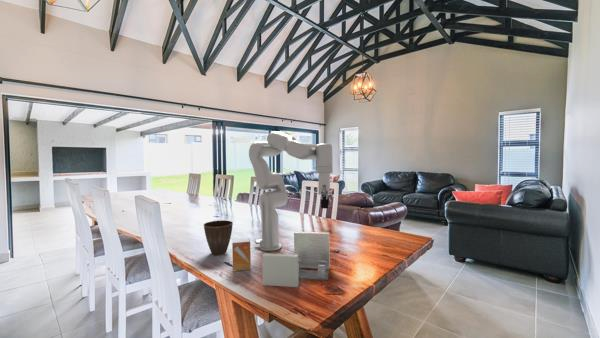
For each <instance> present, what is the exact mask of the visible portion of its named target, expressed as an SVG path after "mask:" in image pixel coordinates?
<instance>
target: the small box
mask: <svg viewBox="0 0 600 338" xmlns="http://www.w3.org/2000/svg"><path fill="white" fill-rule="evenodd" d="M231 246H232V253H231V254H232V272H236V271H237V272H238V271H239V272H240V271H247V270H248V271H249V270H250V269H252V265H251V264H252V263H251V261H252V260H251V258H252V255H251V238H250V237H244V238H243V237H242V238H234V239H232V245H231Z"/></svg>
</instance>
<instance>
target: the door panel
mask: <svg viewBox="0 0 600 338" xmlns="http://www.w3.org/2000/svg"><path fill="white" fill-rule="evenodd" d="M261 258H262V260H261V261H262V284H263V286H275V287H288V288H299V285H300V283H299V282H300V279H299V271H298V255H294V253H293V254H290V253H288V254H287V253H268V252H263V254H262V257H261Z"/></svg>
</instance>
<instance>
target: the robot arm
mask: <svg viewBox="0 0 600 338" xmlns="http://www.w3.org/2000/svg"><path fill="white" fill-rule="evenodd" d="M282 152H286V153H287V154H288V155H289V156H291V157H293V158H296V159H299V160H301V161H302V160H303V161H305V160H307V161H308V160H312V161H313V160H315V161H316V163H315V165H316V171H315V172H316V174H318V187H317V188H318V189H317V191H318V192H317V193H318V195H319V196H320V195H321V197H320V198H321V199H320V208H321V209H328V208H329V205H330V198H329V195H330V191H331V190H330V189H331V174H333V170H334V169H333V145H332V144H331V143H317V144H316V143H301V142H298V141H297V139H296V138H295V137H294V136H292V135H291V134H290V133H288V132H286V131H276V130H275V131H274V130H273V131H271V132H270V133H268V134H267V135H266V141H255V142H253V143H251V144H250V145H249V149H248V159H249V161H250V163H251V165H252V168H253V173H254V177H255V180H256V184H257V187H258V189H260V190H262V191H265V192H263V193H261V194H260V195H259V197H258V204H259V207H260V219H261V221H260V222H261V224H260V225H261V226H260V227H261V239H255V240H254V243H255V245H258V247H259V248H258V249H259V250H261V251H265V252H273V251H277V250H280V249H281V248H282V247H283V245H282V243H280V241H279V240H280V236H279V235H280V233H279V214H278V212H277V210H276V208H281V207H284V206H286V205H287V203H288V199H289V198H288V192H287V189H286V186H285V185H286V184H285V181H284V178H283V176H282V175H281V174H280V173H278V172H275V171H274V172H271V171H270V167H269V164H268V163H267V161H266V159H264V157H277V156H278V155H280V154H281V153H282ZM266 190H269V191H266Z"/></svg>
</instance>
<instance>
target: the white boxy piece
mask: <svg viewBox="0 0 600 338" xmlns="http://www.w3.org/2000/svg"><path fill="white" fill-rule="evenodd" d="M293 245H294V246H293V249H294V251H293V254H294V255H298V271H299V280H310V281H311V280H312V281H324V282H325V281H328V279H329V274H330V271H329V270H330V267H331V262H330V261H331V259H330V258H331V257H330V256H331V255H330V252H331V251H330V250H331V249H330V232H323V231H322V232H321V231H317V232H315V231H293ZM302 268H303V269H302ZM308 269H309V270H308ZM313 269H317V270H313Z"/></svg>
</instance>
